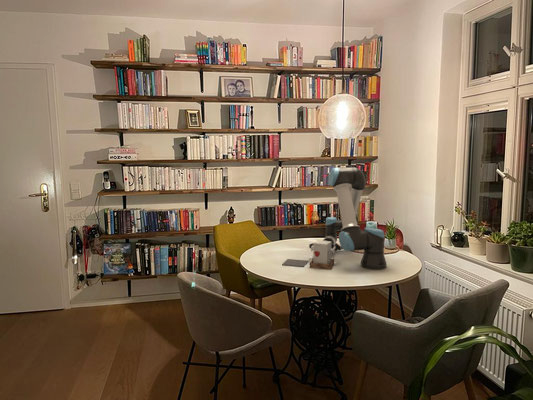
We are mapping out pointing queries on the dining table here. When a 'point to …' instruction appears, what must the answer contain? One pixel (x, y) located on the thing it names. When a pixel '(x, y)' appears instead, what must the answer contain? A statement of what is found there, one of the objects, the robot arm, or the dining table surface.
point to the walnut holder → (322, 265)
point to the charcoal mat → (295, 262)
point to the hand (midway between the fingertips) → (322, 250)
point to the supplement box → (322, 252)
